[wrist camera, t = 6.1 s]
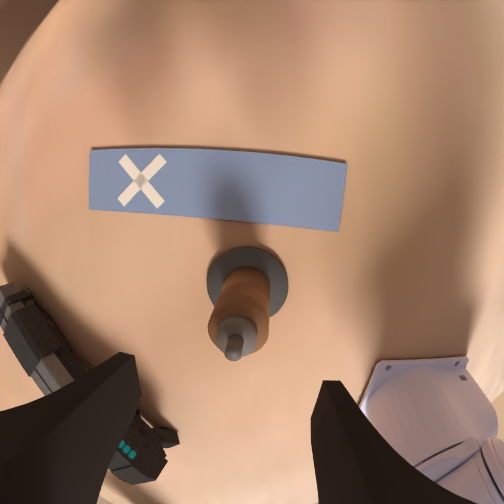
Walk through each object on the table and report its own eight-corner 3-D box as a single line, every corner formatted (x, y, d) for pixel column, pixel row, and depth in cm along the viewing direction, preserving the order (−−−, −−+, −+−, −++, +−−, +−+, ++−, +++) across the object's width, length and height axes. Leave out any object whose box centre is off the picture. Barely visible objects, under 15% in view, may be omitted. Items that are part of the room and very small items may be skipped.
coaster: (293, 251, 17) (293, 252, 17) (282, 323, 19) (282, 326, 19) (209, 242, 18) (208, 244, 17) (206, 315, 19) (205, 317, 19)
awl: (272, 268, 17) (271, 329, 11) (267, 310, 18) (263, 382, 12) (225, 263, 18) (199, 321, 11) (223, 304, 18) (199, 374, 12)
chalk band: (346, 163, 16) (347, 163, 15) (337, 231, 17) (338, 232, 17) (91, 150, 16) (90, 150, 16) (90, 209, 17) (89, 209, 17)
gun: (167, 448, 24) (110, 503, 15) (64, 295, 27) (-10, 309, 18) (194, 438, 23) (135, 502, 13) (80, 271, 26) (-1, 281, 17)
